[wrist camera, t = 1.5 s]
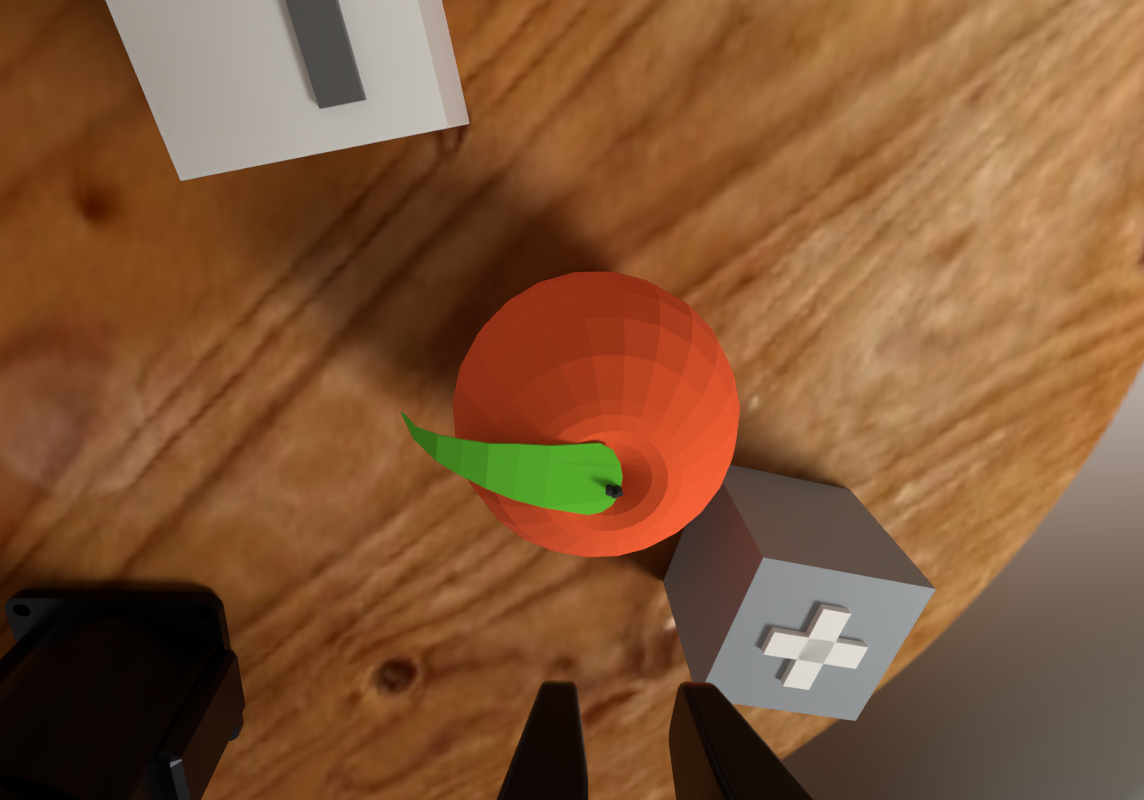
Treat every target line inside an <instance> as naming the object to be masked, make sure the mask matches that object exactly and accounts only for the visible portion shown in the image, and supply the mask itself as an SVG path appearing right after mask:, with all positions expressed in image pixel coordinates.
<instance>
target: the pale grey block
mask: <svg viewBox="0 0 1144 800" xmlns="http://www.w3.org/2000/svg"><path fill="white" fill-rule="evenodd" d="M106 3H107V5H108V8H109V10H110V12H111V15H112V17H113V20H114V22H115V24H116V27H117V29H118V32H119V34H120V36H121V39H122V41H123V44H124V46H125V48H126V51H127V53H128V56H129V58H130V60H131V63H132V65H133V68H134V70H135V72H136V75H137V77H138V80H139V82H140V85H141V87H142V89H143V92H144V94H145V97H146V99H147V101H148V104H149V106H150V109H151V111H152V113H153V116H154V118H155V121H156V123H157V125H158V128H159V130H160V133H161V135H162V137H163V140H164V142H165V145H166V147H167V149H168V152H169V154H170V157H171V159H172V161H173V164H174V166H175V169H176V171H177V173H178V176H179V178H180V181H183V180H188V179H193V178H198V177H203V176H208V175H213V174H218V173H223V172H228V171H233V170H238V169H243V168H248V167H254V166H259V165H264V164H269V163H274V162H279V161H284V160H289V159H294V158H299V157H304V156H309V155H314V154H319V153H324V152H329V151H334V150H340V149H345V148H350V147H355V146H360V145H365V144H370V143H375V142H380V141H385V140H390V139H395V138H400V137H405V136H410V135H415V134H420V133H426V132H431V131H436V130H441V129H446V128H451V127H456V126H461V125H466V124H470V123H469V119H468V114H467V110H466V105H465V101H464V97H463V92H462V88H461V83H460V79H459V74H458V70H457V66H456V61H455V57H454V52H453V48H452V44H451V39H450V35H449V30H448V26H447V21H446V17H445V13H444V8H443V4H442V0H106Z"/></svg>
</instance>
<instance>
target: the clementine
mask: <svg viewBox="0 0 1144 800" xmlns="http://www.w3.org/2000/svg"><path fill="white" fill-rule="evenodd" d="M453 411H454V424H455V436H456V438H454V437H448V436H442V435H438V434H435V433H433V432H430V431H427V430H425V429H422V428H419V427H417V426H415V425H414V424H413V423H412V422H411V420H410V419H409V418H408V417H407V416H406V415H405V414H404V413H403V412H401V414H402V416H403V418H404V420H405V422H406V424H407V427H408V429H409V431H410V433H411V435H412V437H413V439H414V440H415V441H416V442H417V443H418V444H419V445H420V446H421V447H422V448H423V449H424V450H425V451H426V452H427V453H428V454H430V455H431V456H432V457H433V458H434V459H435V460H436V461H437V462H439V463H440V464H442V465H444V466H445V467H447V468H449V469H450V470H452V471H454V472H455V473H457V474H459V475H460V476H462V477H464V478H466V479H468V481H469V483H470V484H471V485H472V487H473V488H474V489H475V490H476V492H477V493H478V494H479V496H480V497H481V498H482V499H483V501H484V502H485V503H486V505H487V506H488V507H489V509H490V510H491V511H492V512H493V514H494V515H495V516H496V517H497V519H498V520H499V521H500V522H502V523H503V524H504V525H506V526H507V527H508V528H510V529H511V530H512V531H514V532H515V533H516V534H518V535H519V536H520V537H522V538H523V539H525V540H527V541H529V542H532V543H534V544H537V545H539V546H541V547H544V548H546V549H548V550H551V551H554V552H559V553H565V554H571V555H576V556H582V557H604V556H619V555H623V554H627V553H631V552H635V551H639V550H643V549H646V548H648V547H650V546H652V545H654V544H656V543H658V542H660V541H662V540H664V539H666V538H668V537H670V536H671V535H673V534H675V533H677V532H678V531H679V530H681V529H682V528H683V527H684V526H685V525H687V524H688V523H689V522H690V521H691V520H693V519H694V518H695V517H696V516H698V515H699V514H700V513H701V512H702V511H703V510H704V508H705V507H706V506H707V504H708V503H709V502H710V500H711V499H712V498H713V496H714V495H715V494H716V492H717V491H718V490H719V488H720V487H721V485H722V482H723V480H724V477H725V475H726V472H727V470H728V468H729V465H730V463H731V460H732V458H733V453H734V449H735V444H736V438H737V430H738V421H739V412H740V407H739V401H738V396H737V390H736V384H735V378H734V375H733V372H732V370H731V367H730V365H729V362H728V360H727V358H726V356H725V354H724V352H723V350H722V348H721V346H720V344H719V342H718V340H717V338H716V336H715V334H714V332H713V330H712V329H711V328H710V327H709V326H708V325H707V324H706V323H705V322H704V321H703V320H702V318H701V317H700V316H699V315H698V314H697V313H696V312H695V311H694V310H693V309H692V308H691V307H690V306H689V305H688V304H687V303H685V302H684V301H682V300H680V299H678V298H677V297H675V296H673V295H671V294H670V293H668V292H666V291H664V290H663V289H661V288H659V287H658V286H656V285H654V284H652V283H650V282H648V281H646V280H643V279H639V278H635V277H631V276H627V275H623V274H619V273H615V272H573V273H570V274H566V275H563V276H559V277H556V278H552V279H549V280H545V281H541V282H539V283H537V284H535V285H534V286H532V287H530V288H529V289H527V290H525V291H524V292H522V293H520V294H518V295H517V296H515V297H513V298H512V299H510V300H508V301H507V302H506V303H505V304H504V305H503V307H502V308H501V309H500V310H499V311H498V312H497V313H496V314H495V315H494V316H493V317H492V318H491V319H490V320H489V321H488V322H487V323H486V324H485V325H484V326H483V328H482V329H481V330H480V332H479V333H478V334H477V336H476V338H475V340H474V342H473V344H472V345H471V347H470V349H469V351H468V353H467V355H466V357H465V358H464V360H463V362H462V364H461V366H460V369H459V374H458V379H457V383H456V388H455V393H454V398H453Z"/></svg>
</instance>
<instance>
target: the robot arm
mask: <svg viewBox="0 0 1144 800" xmlns="http://www.w3.org/2000/svg"><path fill="white" fill-rule="evenodd" d="M202 608H206V609H207V610H209V611H206V610H204V609H202ZM5 612H6V615H7V617H8V620H9V623H10V626H11V629H12V632H13V635H14V637H15V640H16V644H15V645H14V646H13V647H12V648H11V649H10V650H9V651H8V652H7V653H6V654H5V655H4V656H3V657H2V659H1V660H0V800H201V798H202V796H203V794H204V792H205V790H206V788H207V786H208V783H209V781H210V779H211V777H212V775H213V773H214V771H215V769H216V767H217V764H218V762H219V760H220V758H221V756H222V754H223V752H224V750H225V748H226V745H227V743H228V741H232V740H234V739H236V738H237V737H238V736H239V734H240V731H241V729H242V727H243V723H244V722H243V716H242V712H243V710H244V707H245V701H244V695H243V689H242V683H241V677H240V671H239V665H238V659H237V655H236V654H235V653H234V651H233V650H232V649H231V646H230V640H229V634H228V628H227V623H226V617H225V611H224V605H223V603H222V601H221V600H220V599H219V598H218V597H217V596H214V595H212V594H207V593H170V592H122V591H75V590H20V591H18V592H17V593H15V594H14V595H13V596H12V597H11V598H10V599H9V600H8V601H7V602H6V604H5ZM669 748H670V756H671V764H672V771H673V779H674V786H675V794H676V800H815V799H814V798H813V797H812V796H811V795H810V794H809V793H808V791H807V790H806V789H805V788H804V787H803V786H802V784H801V783H800V782H799V781H798V780H797V779H796V777H795V776H794V775H793V774H792V773H791V772H790V771H789V769H788V768H787V767H786V766H785V765H784V764H783V762H782V761H781V760H780V759H779V758H778V757H777V756H776V754H775V753H774V752H773V751H772V750H771V749H770V747H769V746H768V745H767V744H766V743H765V742H764V741H763V739H762V738H761V737H760V736H759V735H758V734H757V732H756V731H755V730H754V729H753V728H752V727H751V726H750V724H749V723H748V722H747V721H746V720H745V719H744V717H743V716H742V715H741V714H740V713H739V712H738V711H737V709H736V708H735V707H734V706H733V705H732V704H731V702H730V701H729V700H728V699H727V698H726V697H725V696H724V694H723V693H722V692H721V691H720V690H719V689H718V688H717V687H716V686H715V685H714V684H712V683H709V682H684V683H682V684H680V686H679V688H678V691H677V695H676V700H675V704H674V709H673V714H672V719H671V723H670V729H669ZM497 800H588V773H587V762H586V755H585V747H584V739H583V731H582V724H581V716H580V708H579V701H578V693H577V687H576V685H575V683H574V682H572V681H545V682H543V683H542V685H541V686H540V689H539V691H538V694H537V697H536V699H535V702H534V704H533V707H532V709H531V712H530V715H529V717H528V720H527V722H526V725H525V727H524V730H523V733H522V735H521V738H520V740H519V743H518V746H517V748H516V751H515V753H514V756H513V758H512V761H511V764H510V766H509V769H508V771H507V774H506V777H505V779H504V782H503V784H502V787H501V789H500V792H499V795H498V797H497Z"/></svg>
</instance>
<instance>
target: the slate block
mask: <svg viewBox="0 0 1144 800" xmlns="http://www.w3.org/2000/svg"><path fill="white" fill-rule="evenodd" d="M663 583H664V587H665V590H666V593H667V597H668V600H669V603H670V607H671V610H672V614H673V617H674V620H675V624H676V627H677V630H678V634H679V637H680V641H681V644H682V647H683V651H684V654H685V658H686V661H687V664H688V668H689V671H690V674H691V678H692V681H693V682H709V683H712V684H714V685H715V686H716V687H717V688H718V689H719V690H720V691H721V692H722V693H723V694H724V696H725V697H726V698H727V699H728V700H729V701H730V702H731V703H734V704H741V705H748V706H755V707H762V708H769V709H776V710H783V711H791V712H798V713H805V714H812V715H819V716H826V717H833V718H840V719H847V720H854V721H856V719H857V717H858V716H859V714H860V712H861V711H862V709H863V708H864V706H865V704H866V703H867V701H868V699H869V698H870V696H871V694H872V693H873V691H874V690H875V688H876V686H877V685H878V683H879V681H880V680H881V678H882V676H883V675H884V673H885V672H886V670H887V668H888V667H889V665H890V663H891V662H892V660H893V658H894V657H895V655H896V654H897V652H898V650H899V649H900V647H901V645H902V644H903V642H904V640H905V639H906V637H907V635H908V634H909V632H910V631H911V629H912V627H913V626H914V624H915V622H916V621H917V619H918V617H919V616H920V614H921V613H922V611H923V609H924V608H925V606H926V604H927V603H928V601H929V599H930V598H931V596H932V594H933V593H934V591H935V590H936V589H935V588H934V586H933V585H932V584H931V583H930V582H929V581H928V579H927V578H926V577H925V576H924V575H923V574H922V572H921V571H920V570H919V569H918V568H917V567H916V566H915V564H914V563H913V562H912V561H911V560H910V559H909V557H908V556H907V555H906V554H905V553H904V552H903V550H902V549H901V548H900V547H899V546H898V545H897V544H896V542H895V541H894V540H893V539H892V538H891V537H890V535H889V534H888V533H887V532H886V531H885V530H884V529H883V527H882V526H881V525H880V524H879V523H878V522H877V520H876V519H875V518H874V517H873V516H872V515H871V513H870V512H869V511H868V510H867V509H866V508H865V507H864V505H863V504H862V503H861V502H860V501H859V500H858V498H857V497H856V496H855V495H854V494H853V493H852V492H851V490H850V489H845V488H840V487H835V486H830V485H826V484H821V483H816V482H811V481H807V480H802V479H797V478H792V477H787V476H783V475H778V474H773V473H768V472H763V471H759V470H754V469H749V468H744V467H739V466H735V465H729V468H728V470H727V472H726V475H725V477H724V480H723V482H722V485H721V487H720V488H719V490H718V491H717V492H716V494H715V495H714V496H713V498H712V499H711V500H710V502H709V503H708V504H707V506H706V507H705V508H704V510H703V511H702V512H701V513H700V514H699V515H698V516H696V517H695V518H694V519H693V520H691V521H690V522H689V523H688V524H687V525H685V528H684V530H683V533H682V536H681V538H680V541H679V543H678V546H677V548H676V551H675V553H674V556H673V558H672V561H671V563H670V566H669V568H668V571H667V573H666V576H665V578H664V581H663Z"/></svg>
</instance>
